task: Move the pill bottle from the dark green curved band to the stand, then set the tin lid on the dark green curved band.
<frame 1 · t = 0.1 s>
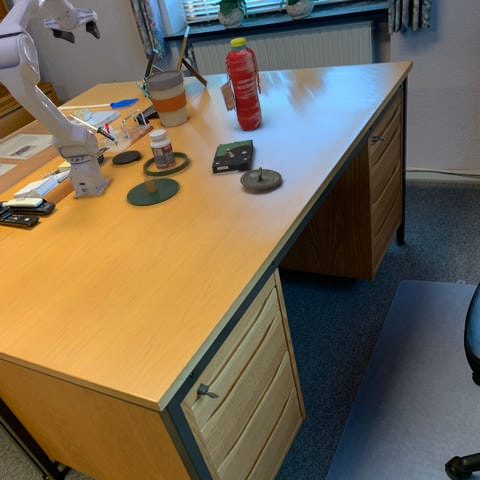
hand: (86, 37, 137), 32 cm above the table, tool tilted 50°, fingers open, 7 cm apart
dark green curved band: (167, 167, 140), on the table
disk drive: (234, 162, 136), on the table
stand: (127, 160, 149), on the table
pill bottle: (167, 167, 140), resting on dark green curved band
water bottle: (246, 128, 153), on the table
tin lid: (153, 192, 128), point 1 cm above the table
reusable coffee cup: (174, 122, 169), on the table
lid: (261, 185, 122), on the table
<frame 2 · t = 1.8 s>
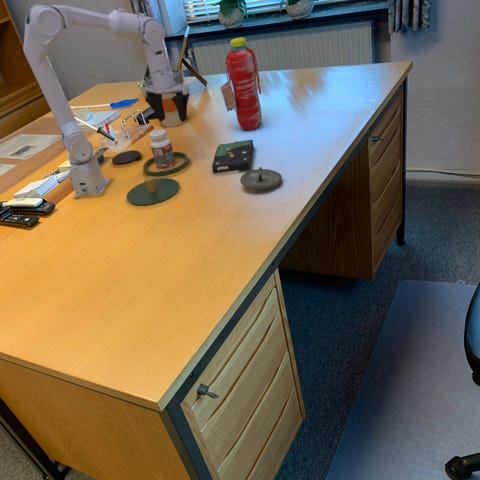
hand: (173, 120, 138), 10 cm above the table, tool pointing down, fingers open, 7 cm apart
nothing on the table moved.
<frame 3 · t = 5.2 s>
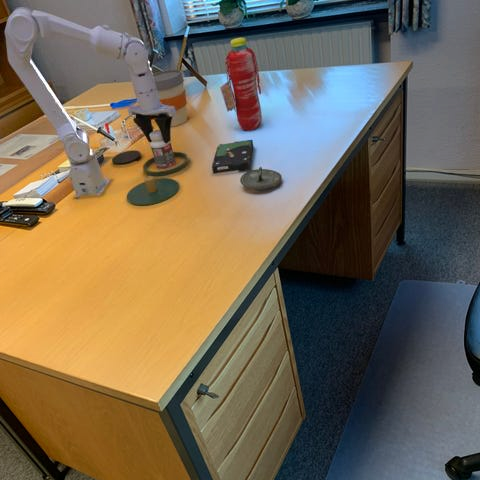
hand: (159, 141, 135), 8 cm above the table, tool pointing down, fingers closed on pill bottle, 5 cm apart
pill bottle: (167, 167, 140), resting on dark green curved band, touching gripper
everything else where it was.
when the fingers open (9 cm above the table, at t = 9.2 s): pill bottle stays where it is, resting on stand.
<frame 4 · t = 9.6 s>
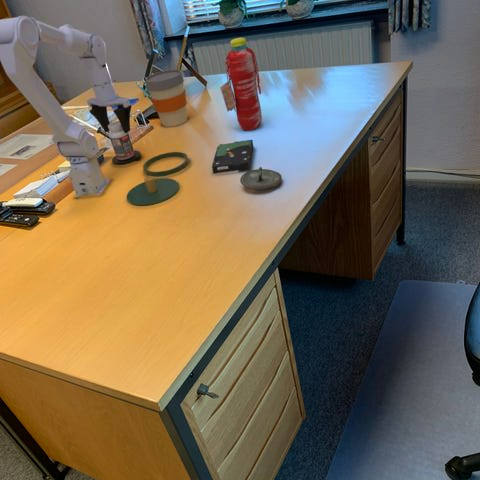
hand: (117, 131, 144), 9 cm above the table, tool pointing down, fingers open, 7 cm apart
pill bottle: (126, 157, 149), point 1 cm above the table, touching stand
everything else where it was.
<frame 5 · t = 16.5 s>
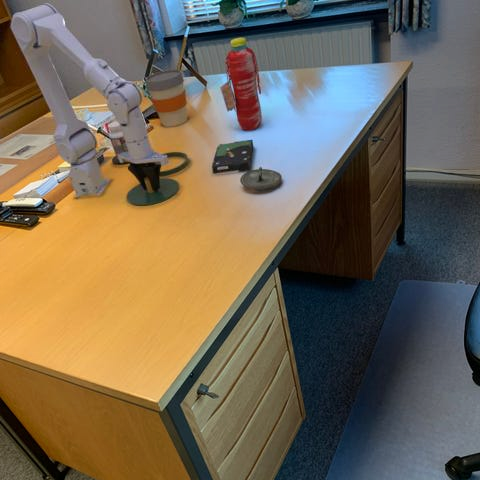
hand: (152, 188, 127), 2 cm above the table, tool pointing down, fingers closed on tin lid, 2 cm apart
tin lid: (153, 192, 128), point 1 cm above the table, touching gripper
everything else where it was.
when the fingers open (3 cm above the table, at t = 21.8 s): tin lid stays where it is, resting on dark green curved band.
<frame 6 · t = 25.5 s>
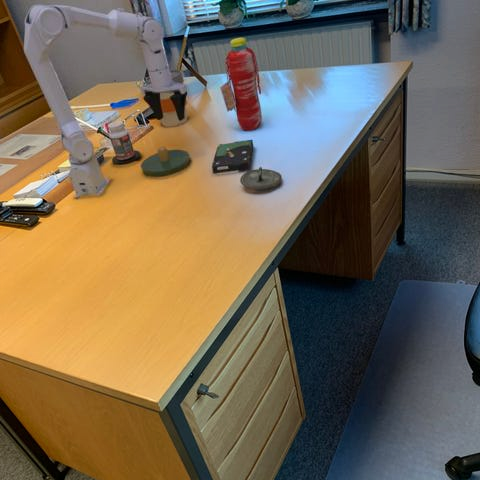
hand: (171, 119, 139), 10 cm above the table, tool pointing down, fingers open, 7 cm apart
tin lid: (165, 161, 139), point 2 cm above the table, touching dark green curved band
everything else where it was.
at the end: pill bottle 0.0 cm off-centre on the stand, point 1.0 cm above the stand's base; pill bottle tilted 0°; tin lid 0.0 cm off-centre on the dark green curved band, point 1.8 cm above the dark green curved band's base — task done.
